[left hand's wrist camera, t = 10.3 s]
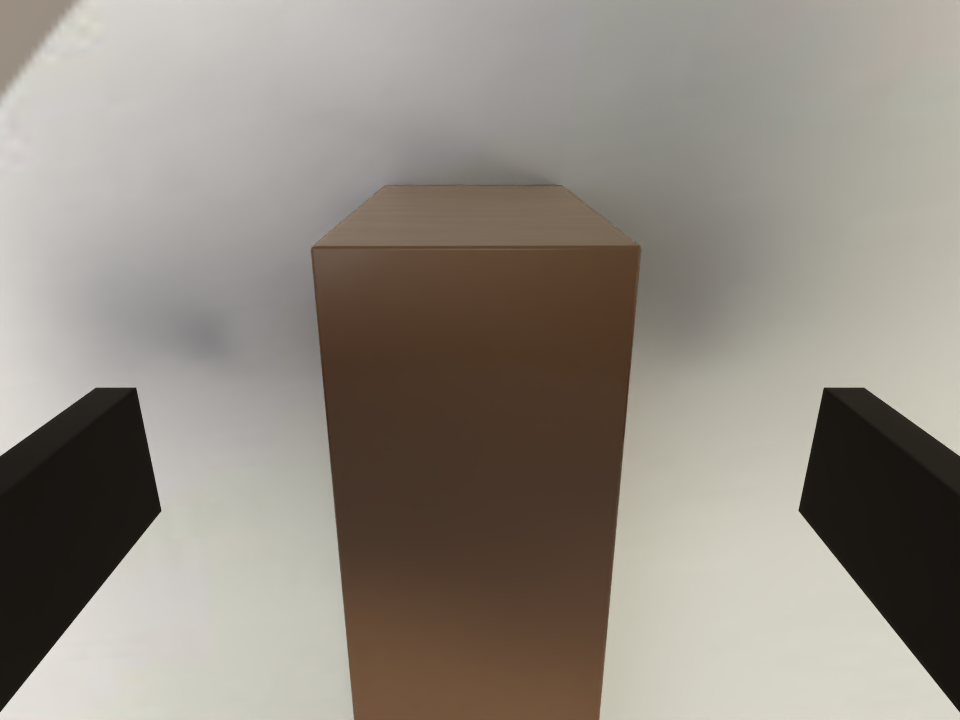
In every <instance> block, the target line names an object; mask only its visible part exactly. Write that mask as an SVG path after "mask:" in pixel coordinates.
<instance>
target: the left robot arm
mask: <svg viewBox="0 0 960 720" xmlns="http://www.w3.org/2000/svg"><path fill="white" fill-rule="evenodd" d="M160 512H161V506H160V501H159V497H158V492H157V487H156V482H155V477H154V472H153V467H152V463H151V458H150V453H149V448H148V443H147V438H146V433H145V429H144V424H143V419H142V414H141V409H140V404H139V399H138V395H137V390H136V388H95V389H94V390H92V391H91V392H89V393H88V394H87V395H85V396H84V397H82V398H81V399H80V400H78V401H77V402H75V403H74V404H73V405H71V406H70V407H68V408H67V409H66V410H64V411H63V412H61V413H60V414H59V415H57V416H56V417H54V418H53V419H52V420H50V421H49V422H47V423H46V424H45V425H43V426H42V427H40V428H39V429H38V430H36V431H35V432H33V433H32V434H31V435H29V436H28V437H26V438H25V439H24V440H22V441H21V442H19V443H18V444H17V445H15V446H14V447H12V448H11V449H10V450H8V451H7V452H6V453H4V454H3V455H1V456H0V712H1V711H2V709H3V708H4V707H5V706H6V704H7V703H8V702H9V701H10V699H11V698H12V697H13V696H14V694H15V693H16V692H17V691H18V689H19V688H20V687H21V686H22V684H23V683H24V682H25V681H26V679H27V678H28V677H29V676H30V674H31V673H32V672H33V671H34V669H35V668H36V667H37V666H38V664H39V663H40V662H41V661H42V659H43V658H44V657H45V656H46V654H47V653H48V652H49V651H50V649H51V648H52V647H53V646H54V644H55V643H56V642H57V641H58V639H59V638H60V637H61V636H62V634H63V633H64V632H65V631H66V629H67V628H68V627H69V626H70V624H71V623H72V622H73V621H74V619H75V618H76V617H77V616H78V614H79V613H80V612H81V611H82V609H83V608H84V607H85V606H86V604H87V603H88V602H89V601H90V599H91V598H92V597H93V596H94V594H95V593H96V592H97V591H98V589H99V588H100V587H101V586H102V584H103V583H104V582H105V581H106V579H107V578H108V577H109V576H110V574H111V573H112V572H113V571H114V569H115V568H116V567H117V566H118V564H119V563H120V562H121V561H122V559H123V558H124V557H125V556H126V554H127V553H128V552H129V551H130V549H131V548H132V547H133V546H134V544H135V543H136V542H137V541H138V539H139V538H140V537H141V536H142V534H143V533H144V532H145V531H146V529H147V528H148V527H149V526H150V524H151V523H152V522H153V521H154V519H155V518H156V517H157V516H158V514H159V513H160ZM799 512H800V513H801V514H802V516H803V517H804V518H805V519H806V521H807V522H808V523H809V524H810V526H811V527H812V528H813V529H814V531H815V532H816V533H817V534H818V536H819V537H820V538H821V539H822V541H823V542H824V543H825V544H826V546H827V547H828V548H829V549H830V551H831V552H832V553H833V554H834V556H835V557H836V558H837V559H838V561H839V562H840V563H841V564H842V566H843V567H844V568H845V569H846V571H847V572H848V573H849V574H850V576H851V577H852V578H853V579H854V581H855V582H856V583H857V584H858V586H859V587H860V588H861V589H862V591H863V592H864V593H865V594H866V596H867V597H868V598H869V599H870V601H871V602H872V603H873V604H874V606H875V607H876V608H877V609H878V611H879V612H880V613H881V614H882V616H883V617H884V618H885V619H886V621H887V622H888V623H889V624H890V626H891V627H892V628H893V629H894V631H895V632H896V633H897V634H898V636H899V637H900V638H901V639H902V641H903V642H904V643H905V644H906V646H907V647H908V648H909V649H910V651H911V652H912V653H913V654H914V656H915V657H916V658H917V659H918V661H919V662H920V663H921V664H922V666H923V667H924V668H925V669H926V671H927V672H928V673H929V674H930V676H931V677H932V678H933V679H934V681H935V682H936V683H937V684H938V686H939V687H940V688H941V689H942V691H943V692H944V693H945V694H946V696H947V697H948V698H949V699H950V701H951V702H952V703H953V704H954V706H955V707H956V708H957V709H958V711H959V712H960V456H959V455H957V454H956V453H954V452H953V451H952V450H950V449H949V448H948V447H946V446H945V445H943V444H942V443H941V442H939V441H938V440H936V439H935V438H934V437H932V436H931V435H929V434H928V433H927V432H925V431H924V430H922V429H921V428H920V427H918V426H917V425H915V424H914V423H913V422H911V421H910V420H908V419H907V418H906V417H904V416H903V415H901V414H900V413H899V412H897V411H896V410H894V409H893V408H892V407H890V406H889V405H887V404H886V403H885V402H883V401H882V400H880V399H879V398H878V397H876V396H875V395H873V394H872V393H871V392H869V391H868V390H866V389H865V388H824V390H823V395H822V399H821V404H820V409H819V414H818V419H817V424H816V429H815V433H814V438H813V443H812V448H811V453H810V458H809V463H808V467H807V472H806V477H805V482H804V487H803V492H802V497H801V501H800V506H799Z"/></svg>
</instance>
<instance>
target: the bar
mask: <svg viewBox="0 0 960 720" xmlns="http://www.w3.org/2000/svg"><path fill="white" fill-rule="evenodd" d="M640 256H641V247H640V246H639V245H638V244H637V243H636V242H634V241H633V240H632V239H630V238H629V237H628V236H626V235H625V234H624V233H623V232H621V231H620V230H619V229H617V228H616V227H615V226H614V225H612V224H611V223H610V222H608V221H607V220H606V219H605V218H603V217H602V216H601V215H599V214H598V213H597V212H595V211H594V210H593V209H592V208H590V207H589V206H588V205H586V204H585V203H584V202H583V201H581V200H580V199H579V198H577V197H576V196H575V195H574V194H572V193H571V192H570V191H568V190H567V189H566V188H564V187H563V186H561V185H530V186H384V187H383V188H382V189H380V190H379V191H378V192H377V193H376V194H374V195H373V196H372V197H371V198H370V199H368V200H367V201H366V202H365V203H364V204H362V205H361V206H360V207H359V208H358V209H356V210H355V211H354V212H353V213H352V214H350V215H349V216H348V217H347V218H346V219H344V220H343V221H342V222H341V223H340V224H338V225H337V226H336V227H335V228H334V229H332V230H331V231H330V232H329V233H328V234H327V235H325V236H324V237H323V238H322V239H321V240H319V241H318V242H317V243H316V244H315V245H313V246H312V247H311V257H312V268H313V279H314V289H315V300H316V311H317V322H318V333H319V344H320V354H321V365H322V376H323V387H324V398H325V409H326V419H327V430H328V441H329V452H330V463H331V474H332V484H333V495H334V506H335V517H336V528H337V539H338V550H339V560H340V571H341V582H342V593H343V604H344V615H345V625H346V636H347V647H348V658H349V669H350V680H351V690H352V701H353V712H354V720H599V716H600V705H601V694H602V683H603V672H604V660H605V649H606V638H607V627H608V615H609V604H610V593H611V582H612V571H613V559H614V548H615V537H616V526H617V514H618V503H619V492H620V481H621V470H622V458H623V447H624V436H625V425H626V414H627V402H628V391H629V380H630V369H631V357H632V346H633V335H634V324H635V313H636V301H637V290H638V279H639V268H640Z"/></svg>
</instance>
